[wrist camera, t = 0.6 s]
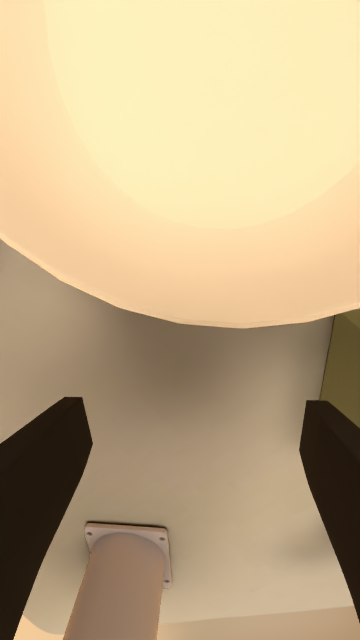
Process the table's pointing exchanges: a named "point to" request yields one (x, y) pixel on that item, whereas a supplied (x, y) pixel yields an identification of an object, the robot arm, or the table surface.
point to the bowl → (186, 154)
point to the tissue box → (344, 366)
